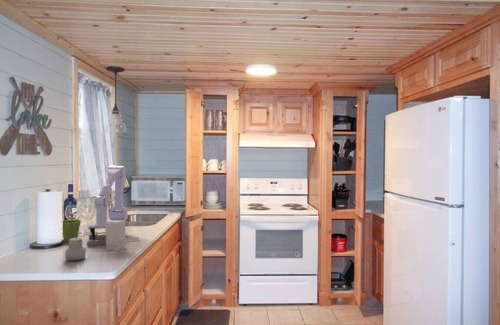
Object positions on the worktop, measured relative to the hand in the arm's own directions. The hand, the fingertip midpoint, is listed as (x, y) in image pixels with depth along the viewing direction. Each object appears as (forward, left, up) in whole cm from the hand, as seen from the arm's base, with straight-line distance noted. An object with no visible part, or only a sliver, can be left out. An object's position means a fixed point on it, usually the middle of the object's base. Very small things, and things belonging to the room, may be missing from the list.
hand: (101, 241), depth 209 cm
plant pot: (-16, -16, -2) cm, 23 cm away
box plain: (-8, 0, -1) cm, 8 cm away
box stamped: (0, 0, -1) cm, 1 cm away
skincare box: (+16, +7, -2) cm, 17 cm away
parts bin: (-4, 0, -2) cm, 4 cm away
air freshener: (+28, -12, -2) cm, 31 cm away
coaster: (-4, +16, -2) cm, 16 cm away
